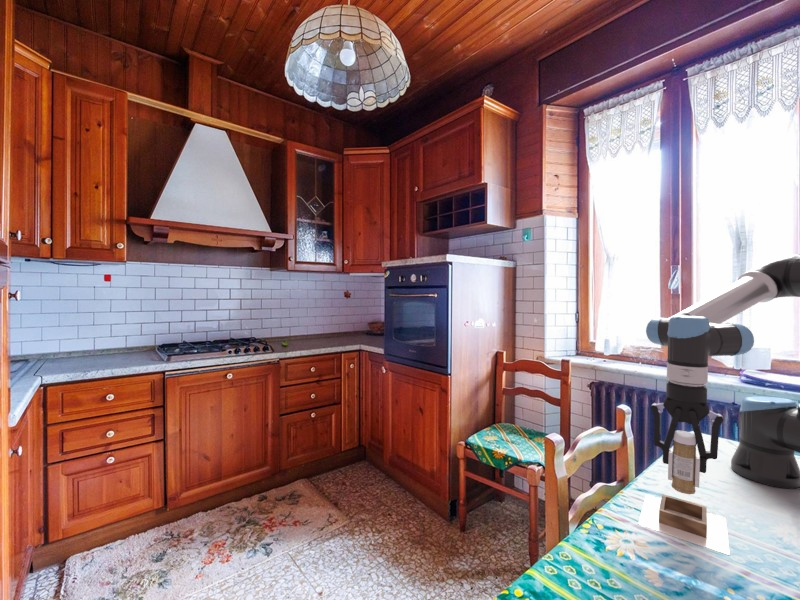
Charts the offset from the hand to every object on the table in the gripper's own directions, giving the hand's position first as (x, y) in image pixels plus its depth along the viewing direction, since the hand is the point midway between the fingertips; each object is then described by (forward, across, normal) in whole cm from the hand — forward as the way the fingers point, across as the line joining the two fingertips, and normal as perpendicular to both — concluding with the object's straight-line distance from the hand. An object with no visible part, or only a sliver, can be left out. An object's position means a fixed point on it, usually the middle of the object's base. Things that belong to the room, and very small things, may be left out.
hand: (683, 480), depth 88 cm
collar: (+10, 0, 0) cm, 10 cm away
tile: (+11, 0, 0) cm, 11 cm away
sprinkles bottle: (+2, 0, 0) cm, 2 cm away
